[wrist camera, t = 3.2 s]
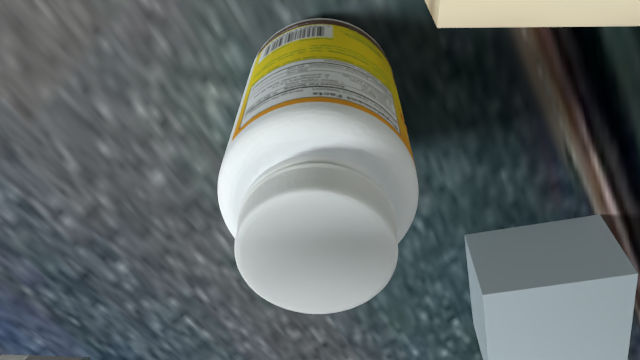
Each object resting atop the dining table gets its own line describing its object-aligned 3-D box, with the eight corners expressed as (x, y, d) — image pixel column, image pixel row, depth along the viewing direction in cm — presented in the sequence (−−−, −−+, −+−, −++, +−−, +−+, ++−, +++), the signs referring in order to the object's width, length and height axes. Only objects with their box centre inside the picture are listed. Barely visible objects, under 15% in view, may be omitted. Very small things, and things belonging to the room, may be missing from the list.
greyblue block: (592, 304, 29) (626, 370, 25) (472, 319, 29) (490, 385, 26) (598, 211, 25) (638, 273, 22) (463, 232, 26) (482, 294, 23)
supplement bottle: (344, 165, 24) (348, 364, 15) (227, 103, 22) (161, 285, 14) (423, 60, 21) (482, 231, 13) (296, -19, 20) (267, 115, 11)
